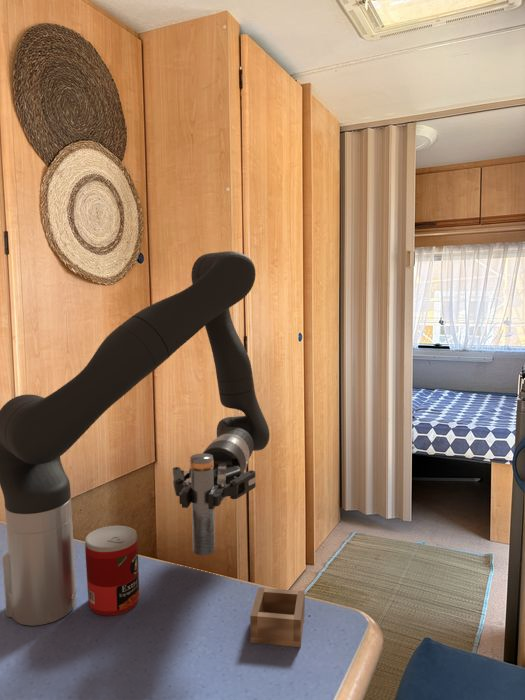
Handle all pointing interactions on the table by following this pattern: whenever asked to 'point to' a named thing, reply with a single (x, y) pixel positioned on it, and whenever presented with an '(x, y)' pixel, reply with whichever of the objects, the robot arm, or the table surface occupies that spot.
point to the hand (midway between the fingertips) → (197, 501)
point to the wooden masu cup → (278, 617)
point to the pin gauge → (202, 503)
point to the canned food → (112, 569)
